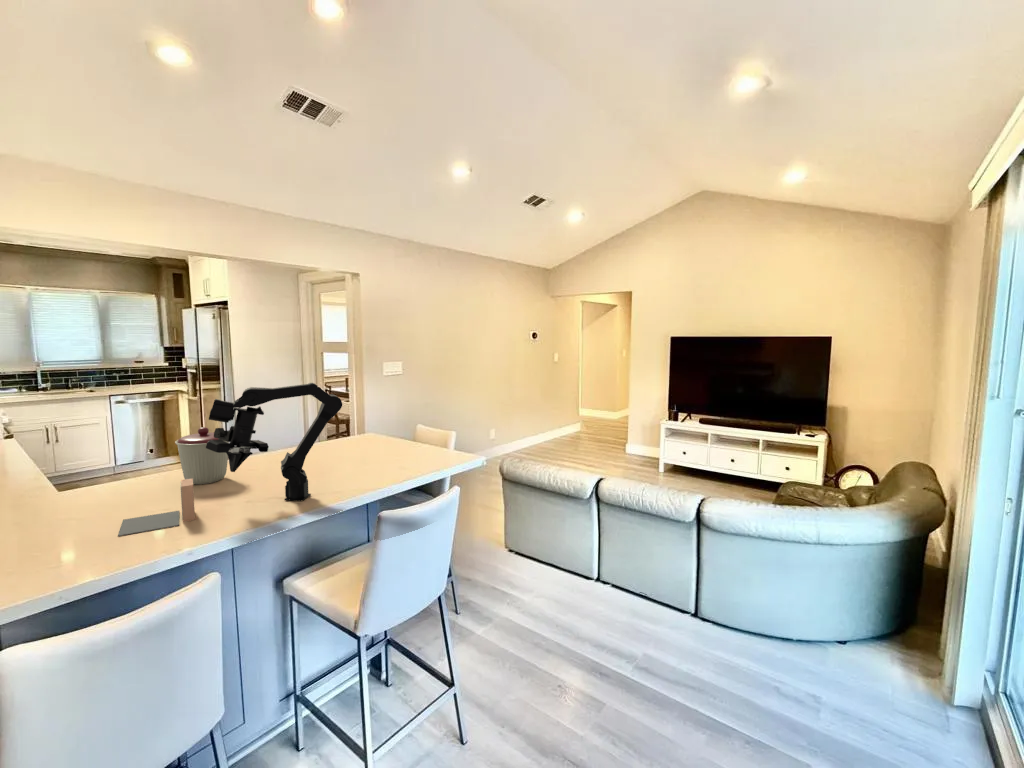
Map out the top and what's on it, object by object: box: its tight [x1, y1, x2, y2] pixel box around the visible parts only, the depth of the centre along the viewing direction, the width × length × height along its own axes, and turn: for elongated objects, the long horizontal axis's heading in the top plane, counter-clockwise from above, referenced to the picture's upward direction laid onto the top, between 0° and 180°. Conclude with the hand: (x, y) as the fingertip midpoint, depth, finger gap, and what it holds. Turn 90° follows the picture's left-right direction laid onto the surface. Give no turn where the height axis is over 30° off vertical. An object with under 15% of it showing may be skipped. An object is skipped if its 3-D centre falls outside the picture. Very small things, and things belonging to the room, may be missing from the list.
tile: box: [180, 478, 196, 523], centre depth 146 cm, size 3×8×11 cm, turn 35°
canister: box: [174, 426, 230, 485], centre depth 182 cm, size 18×18×21 cm
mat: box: [117, 510, 180, 537], centre depth 141 cm, size 14×14×1 cm
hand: (232, 471), depth 154 cm, fingers closed
